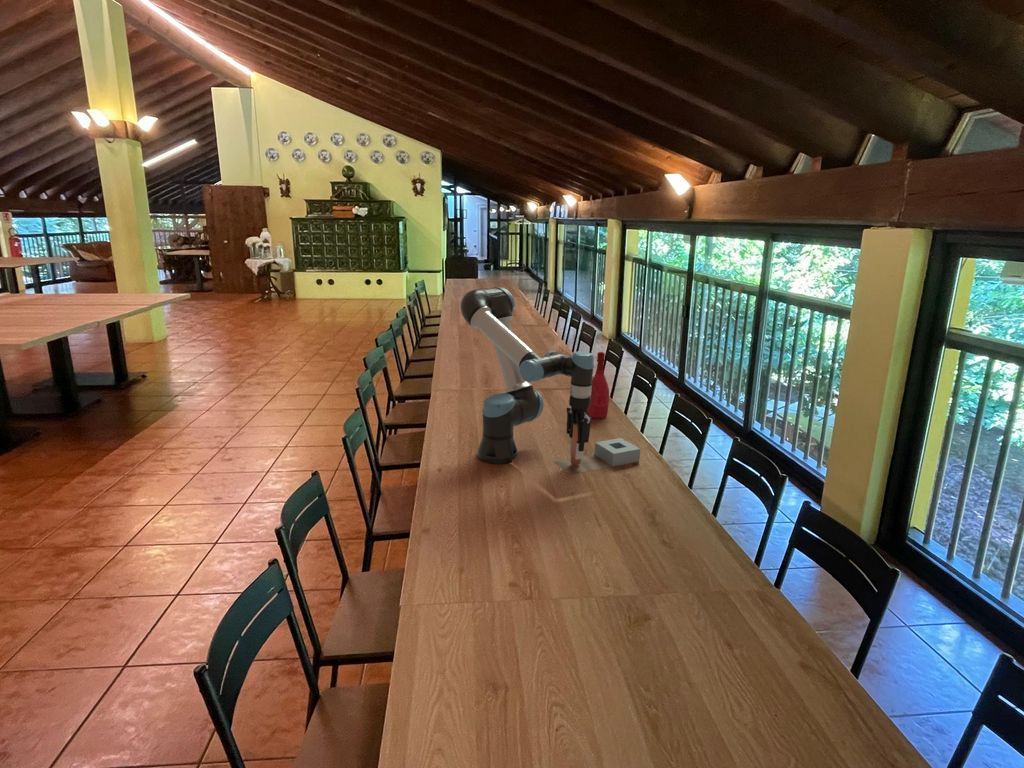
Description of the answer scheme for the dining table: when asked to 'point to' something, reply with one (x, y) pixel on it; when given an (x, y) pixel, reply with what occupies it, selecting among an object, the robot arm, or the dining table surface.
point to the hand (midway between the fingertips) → (575, 456)
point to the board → (585, 464)
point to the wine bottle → (599, 391)
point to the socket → (617, 451)
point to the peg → (574, 445)
